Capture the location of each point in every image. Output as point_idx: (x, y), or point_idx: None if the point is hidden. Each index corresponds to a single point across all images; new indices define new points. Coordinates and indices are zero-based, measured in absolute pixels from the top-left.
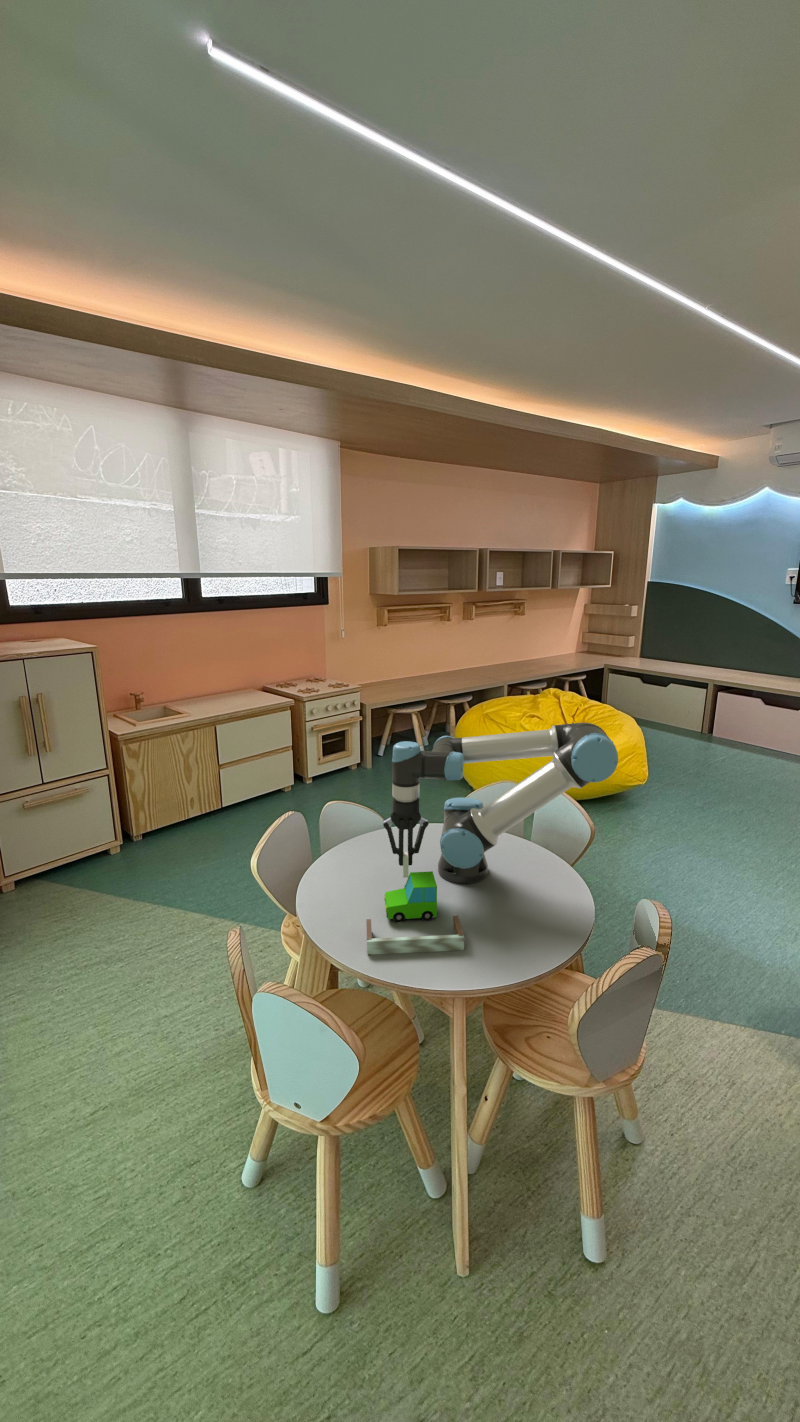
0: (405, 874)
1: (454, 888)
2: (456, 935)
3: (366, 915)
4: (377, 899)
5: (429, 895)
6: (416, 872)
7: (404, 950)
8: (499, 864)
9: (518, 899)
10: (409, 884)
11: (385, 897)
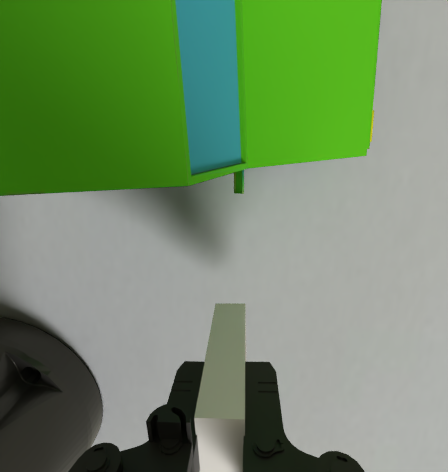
0: (231, 313)
1: (32, 286)
2: None
3: (444, 74)
4: (365, 221)
5: None
6: (128, 182)
7: None
8: None
9: None
10: (207, 84)
11: (372, 97)
